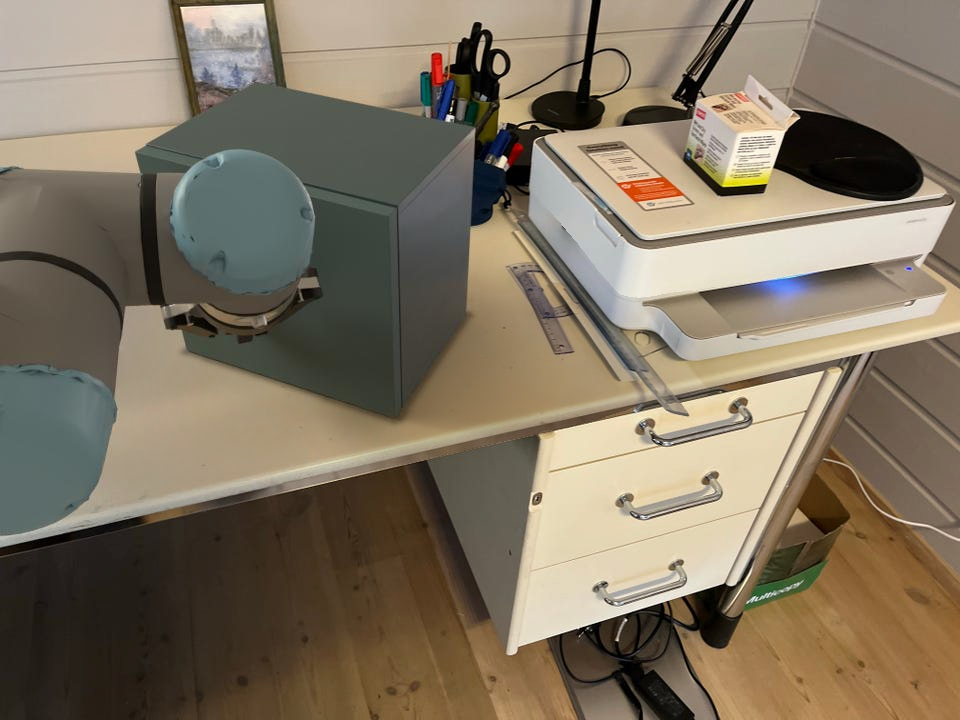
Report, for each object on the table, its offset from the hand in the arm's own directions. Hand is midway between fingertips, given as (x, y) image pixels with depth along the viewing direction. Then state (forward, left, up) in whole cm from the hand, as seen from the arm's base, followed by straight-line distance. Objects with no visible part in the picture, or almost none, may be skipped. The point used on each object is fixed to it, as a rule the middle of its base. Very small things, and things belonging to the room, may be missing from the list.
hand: (242, 329), depth 76 cm
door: (+3, -1, -7) cm, 8 cm away
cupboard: (+4, +12, -7) cm, 14 cm away
